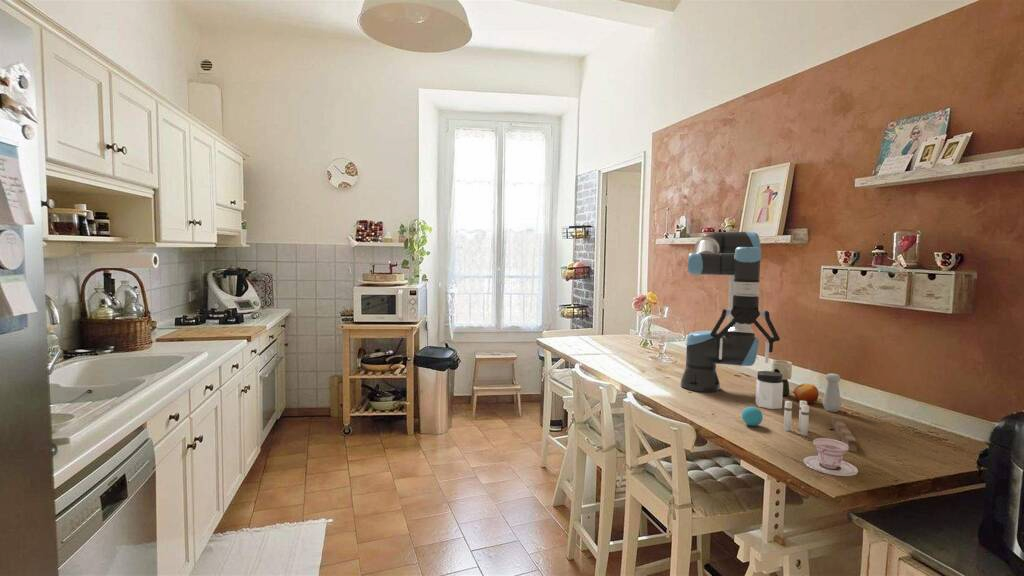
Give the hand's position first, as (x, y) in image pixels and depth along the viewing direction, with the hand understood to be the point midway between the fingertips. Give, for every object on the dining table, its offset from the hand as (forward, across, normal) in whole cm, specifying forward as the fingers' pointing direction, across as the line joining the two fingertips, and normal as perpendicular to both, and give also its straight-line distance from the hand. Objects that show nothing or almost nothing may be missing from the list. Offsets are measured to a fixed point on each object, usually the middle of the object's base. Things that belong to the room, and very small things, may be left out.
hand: (743, 360), depth 162 cm
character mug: (+21, +17, +43) cm, 51 cm away
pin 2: (+20, +17, -5) cm, 27 cm away
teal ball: (+18, +3, -2) cm, 18 cm away
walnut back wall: (+20, +28, -3) cm, 35 cm away
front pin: (+20, +13, -2) cm, 24 cm away
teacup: (+21, +19, -29) cm, 40 cm away
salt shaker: (+21, +31, +27) cm, 46 cm away
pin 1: (+20, +18, 0) cm, 27 cm away
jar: (+21, +11, +24) cm, 34 cm away
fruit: (+21, +25, +35) cm, 48 cm away
